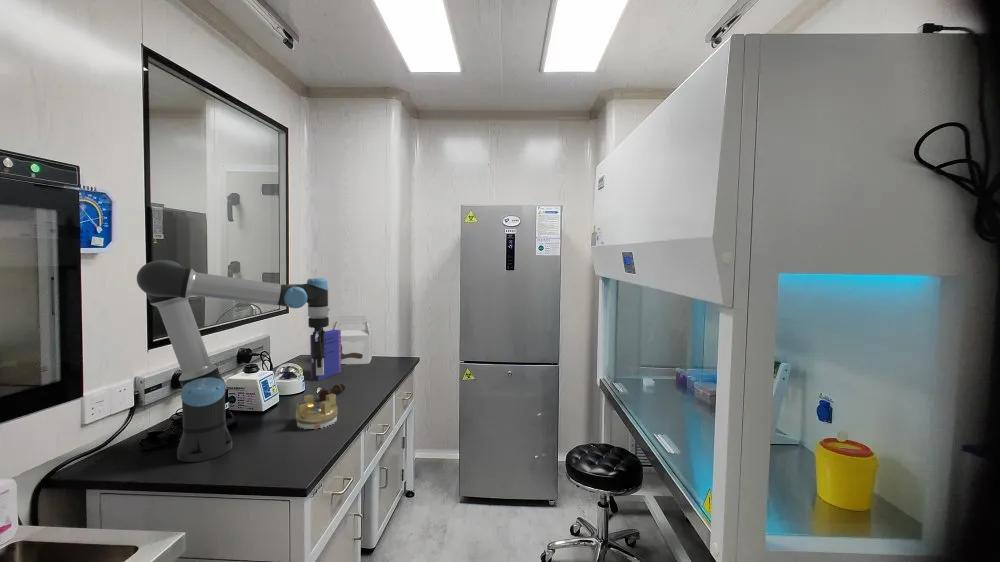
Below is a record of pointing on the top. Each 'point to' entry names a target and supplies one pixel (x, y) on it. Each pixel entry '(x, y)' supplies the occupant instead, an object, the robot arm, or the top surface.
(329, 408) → the ring nut
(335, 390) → the bolt
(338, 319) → the gable box
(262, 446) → the top surface
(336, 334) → the cereal box
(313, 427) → the mounting flange
